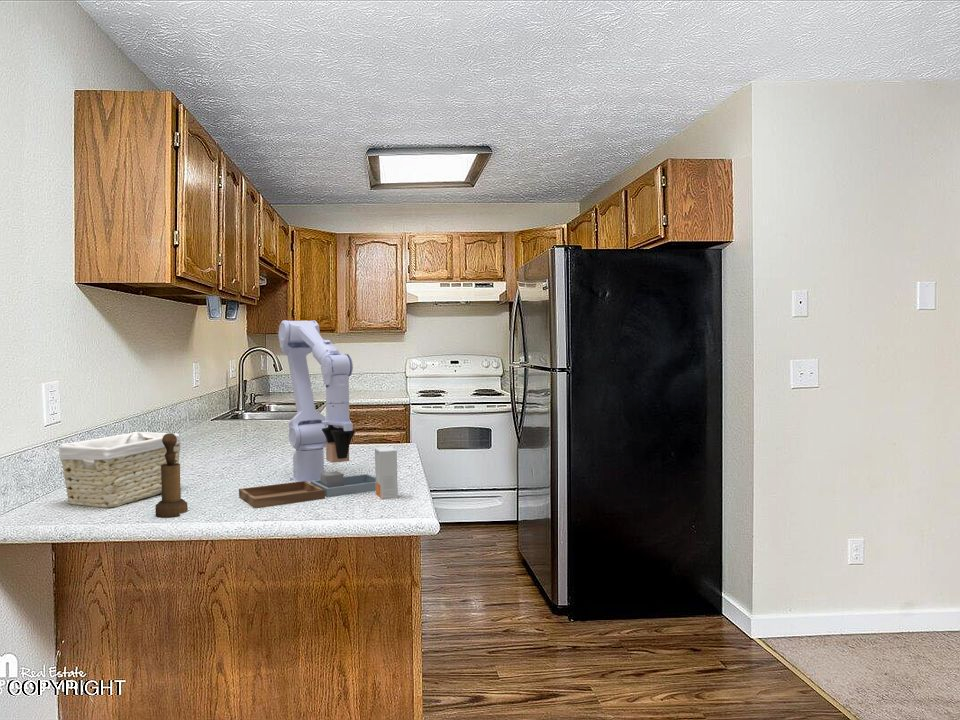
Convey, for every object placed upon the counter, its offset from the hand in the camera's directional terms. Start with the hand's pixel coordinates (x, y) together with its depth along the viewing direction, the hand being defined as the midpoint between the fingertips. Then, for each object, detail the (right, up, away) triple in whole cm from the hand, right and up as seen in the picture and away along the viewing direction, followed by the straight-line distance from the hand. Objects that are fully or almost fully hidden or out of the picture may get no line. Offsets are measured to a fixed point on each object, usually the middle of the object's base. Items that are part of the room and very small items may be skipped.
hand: (338, 456), depth 182 cm
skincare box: (+13, -9, -7) cm, 17 cm away
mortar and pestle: (-33, -10, -20) cm, 40 cm away
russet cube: (0, -1, 0) cm, 1 cm away
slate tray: (+2, -9, +2) cm, 9 cm away
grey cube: (-2, -9, -1) cm, 9 cm away
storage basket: (-53, -10, -2) cm, 54 cm away
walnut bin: (-12, -9, -7) cm, 17 cm away
